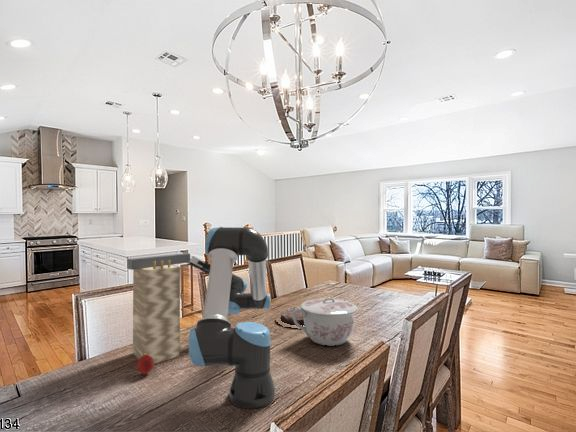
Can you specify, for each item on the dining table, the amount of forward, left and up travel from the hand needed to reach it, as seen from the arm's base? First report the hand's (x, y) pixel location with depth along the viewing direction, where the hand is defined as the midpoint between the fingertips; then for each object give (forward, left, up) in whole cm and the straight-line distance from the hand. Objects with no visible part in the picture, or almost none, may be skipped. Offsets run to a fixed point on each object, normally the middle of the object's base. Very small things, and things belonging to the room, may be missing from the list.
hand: (184, 257), depth 145 cm
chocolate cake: (+52, -40, -42) cm, 77 cm away
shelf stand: (-11, +6, -41) cm, 43 cm away
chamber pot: (+29, -61, -41) cm, 79 cm away
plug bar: (-8, +6, -3) cm, 11 cm away
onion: (-26, -2, -41) cm, 49 cm away
